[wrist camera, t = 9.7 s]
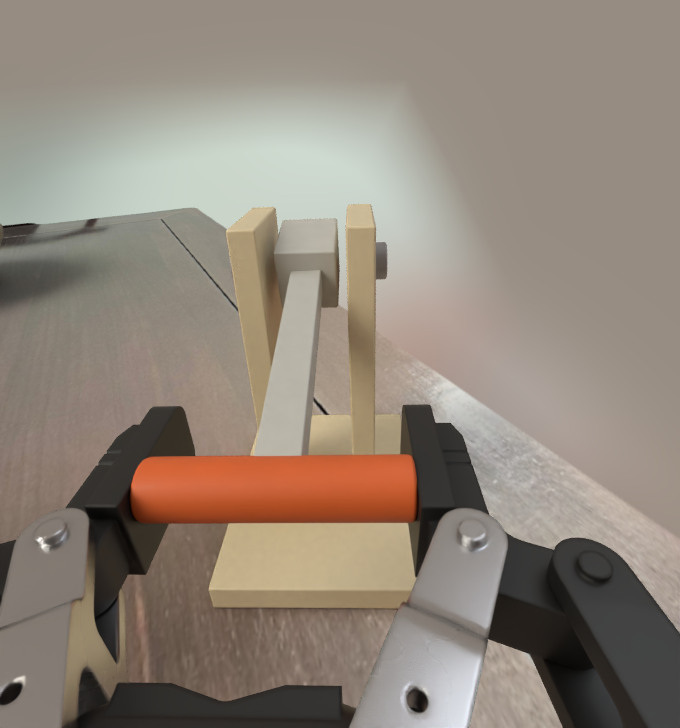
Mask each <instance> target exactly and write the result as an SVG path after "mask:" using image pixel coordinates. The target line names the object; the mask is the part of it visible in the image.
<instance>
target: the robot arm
mask: <svg viewBox="0 0 680 728" xmlns="http://www.w3.org/2000/svg"><path fill="white" fill-rule="evenodd" d="M400 454H408V455H411V456H412V458H413V460H414V463H415V468H416V476H417V490H418V509H417V516H416V520H415V521H414V522H412V523H408V527H409V534H410V542H411V549H412V557H413V564H414V572H415V577H417V578H416V581H415V583H414V586H413V588H412V591H411V593H410V596H409V598H408V600H407V601H406V602H405V601H403V602H402V603H401V605H400V606H399V608H398V610H397V612H396V615H395V617H394V619H393V622H392V624H391V627H390V629H389V631H388V634H387V636H386V639H385V641H384V644H383V646H382V648H381V651H380V653H379V656H378V658H377V661H376V663H375V665H374V668H373V670H372V673H371V675H370V678H369V680H368V683H367V685H366V687H365V690H364V692H363V695H362V697H361V700H360V702H359V704H358V707H357V709H356V708H353V707H350V706H348V705H345V704H343V702H342V686H304V685H285V686H281V687H278V688H274V689H271V690H267V691H264V692H260V693H256V694H253V695H249V696H246V697H242V698H239V699H235V700H232V701H227V702H226V701H219V700H216V699H213V698H210V697H208V696H205V695H202V694H200V693H197V692H194V691H191V690H189V689H186V688H183V687H180V686H178V685H175V684H172V683H129V681H128V675H127V659H126V621H125V595H124V591H123V589H122V585H123V583H124V581H125V579H126V577H127V575H128V574H137V575H146V573H147V571H148V569H149V567H150V564H151V562H152V560H153V558H154V555H155V553H156V551H157V549H158V546H159V544H160V542H161V540H162V538H163V535H164V533H165V531H166V529H167V526H168V524H169V523H156V524H145V523H141V522H139V521H137V520H136V519H135V518H134V516H133V514H132V510H131V505H130V490H131V484H132V480H133V476H134V474H135V471H136V469H137V467H138V466H139V464H140V463H141V462H142V461H143V460H144V459H146V458H149V457H162V456H195V449H194V444H193V441H192V437H191V433H190V429H189V426H188V422H187V418H186V414H185V411H184V409H183V408H182V407H180V406H168V407H152V408H151V409H150V410H149V412H148V413H147V415H146V416H145V418H144V419H143V420H142V422H141V423H140V425H132V426H131V427H130V428H128V429H127V430H126V431H124V432H123V433H122V434H121V435H119V436H118V437H117V438H116V439H115V441H114V442H113V443H112V445H111V446H110V448H109V449H108V450H107V454H104V456H103V457H102V459H101V460H100V461H99V465H98V466H96V467H95V468H94V470H93V471H92V472H91V474H90V475H89V476H88V478H87V479H86V481H85V482H84V483H83V485H82V486H81V487H80V489H79V490H78V492H77V493H76V494H75V496H74V497H73V498H72V500H71V501H70V503H69V504H68V505H67V507H66V508H65V509H60V510H56V511H53V512H50V513H48V514H46V515H44V516H42V517H40V518H38V519H37V520H35V521H34V522H33V523H31V524H30V525H29V526H28V527H27V528H26V529H25V530H24V531H23V532H22V533H21V534H20V535H19V537H18V539H17V540H13V541H9V542H6V543H2V544H0V728H469V726H470V721H471V717H472V712H473V708H474V703H475V699H476V694H477V689H478V685H479V680H480V676H481V671H482V667H483V662H484V657H485V653H486V648H487V643H488V639H489V640H492V641H495V642H498V643H501V644H503V645H506V646H509V647H512V648H515V649H517V650H520V651H523V652H526V653H529V654H530V655H531V657H532V659H533V661H534V664H535V666H536V668H537V670H538V673H539V675H540V677H541V679H542V682H543V684H544V686H545V688H546V691H547V693H548V695H549V697H550V699H551V702H552V704H553V706H554V708H555V711H556V713H557V715H558V717H559V720H560V722H561V724H562V726H563V728H680V633H679V632H678V631H677V629H676V628H675V627H674V625H673V624H672V623H671V621H670V620H669V619H668V617H667V616H666V615H665V613H664V612H663V611H662V609H661V608H660V607H659V605H658V604H657V603H656V601H655V600H654V599H653V597H652V596H651V595H650V593H649V592H648V591H647V589H646V588H645V587H644V585H643V584H642V583H641V581H640V580H639V579H638V577H637V576H636V575H635V573H634V572H633V571H632V569H631V568H630V567H629V565H628V564H627V563H626V562H625V561H624V560H623V559H622V558H621V557H620V556H619V555H618V554H617V553H615V552H614V551H613V550H611V549H610V548H608V547H606V546H605V545H603V544H601V543H598V542H596V541H593V540H589V539H585V538H569V539H565V540H563V541H561V542H560V543H558V545H557V546H556V547H555V549H554V550H552V549H549V548H545V547H541V546H538V545H534V544H531V543H527V542H524V541H521V540H519V539H516V538H514V537H512V536H511V535H509V534H507V533H506V532H505V531H504V529H503V528H502V526H501V525H500V524H499V523H498V522H497V521H496V520H495V519H494V518H493V517H491V516H490V515H489V513H488V510H487V507H486V504H485V501H484V498H483V495H482V492H481V489H480V486H479V483H478V480H477V478H476V475H475V472H474V469H473V466H472V465H471V460H470V457H469V454H468V453H467V448H466V445H465V442H464V439H463V436H462V435H461V434H460V433H459V431H458V430H457V429H456V428H455V427H454V426H453V425H452V424H451V423H435V420H434V416H433V412H432V409H431V406H430V405H403V408H402V423H401V442H400Z"/></svg>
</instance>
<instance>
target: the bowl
mask: <svg viewBox="0 0 680 728" xmlns="http://www.w3.org/2000/svg"><path fill="white" fill-rule="evenodd" d="M2 238H3V227H2V225H1V224H0V244H1V242H2Z"/></svg>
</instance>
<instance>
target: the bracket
mask: <svg viewBox="0 0 680 728" xmlns="http://www.w3.org/2000/svg"><path fill="white" fill-rule="evenodd" d="M226 237H227V243H228V249H229V255H230V271H231V275H232V278H233V280H234V286H235V292H236V298H237V304H238V310H239V317H240V323H241V329H242V335H243V341H244V347H245V353H246V360H247V366H248V372H249V378H250V384H251V390H252V396H253V402H254V409H255V415H256V421H257V427H258V432H259V427H260V422H261V417H262V412H263V407H264V402H265V397H266V392H267V387H268V382H269V377H270V372H271V367H272V362H273V358H274V353H275V348H276V343H277V338H278V333H279V328H280V323H281V318H282V313H283V308H282V305H281V299H280V292H279V286H278V280H277V274H276V267H275V261H274V255H273V254H274V250H275V246H276V243H277V239H278V227H277V217H276V209H275V208H274V207H263V208H252V209H251V210H250V211H249V212H248V213H247V214H245V215H244V216H243V217H242V218H241V219H239V220H238V221H237V222H236V223H235V224H234V225H232V226H231V227H230V228H229V229H228V230H226ZM346 257H347V258H346V259H347V291H348V292H347V294H348V329H349V363H350V397H351V415H312V418H311V429H310V441H309V452H308V455H383V454H400V442H401V423H402V422H401V416H400V414H375V328H376V326H375V325H376V324H375V322H376V316H375V315H376V312H375V311H376V279H386V277H387V245H386V243H385V242H381V243H380V242H379V243H376V226H375V221H374V216H373V212H372V207H371V205H370V204H353V205H348V206H347V217H346ZM258 432H257V435H256V438H255V441H254V444H253V448H252V451H251V454H250V456H254V452H255V447H256V442H257V437H258ZM416 578H417V577H415V572H414V564H413V557H412V549H411V542H410V534H409V527H408V523H229V525H228V528H227V531H226V534H225V537H224V541H223V544H222V547H221V550H220V553H219V557H218V560H217V563H216V566H215V570H214V573H213V576H212V579H211V582H210V586H209V593H210V596H211V600H212V603H213V606H214V607H238V608H399V606H400V605H401V603H402V602H403V601H405V602H406V601H407V600H408V598H409V596H410V593H411V591H412V588H413V586H414V583H415V581H416Z"/></svg>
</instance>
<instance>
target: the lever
mask: <svg viewBox="0 0 680 728" xmlns="http://www.w3.org/2000/svg"><path fill="white" fill-rule="evenodd" d="M273 255H274V261H275V267H276V274H277V280H278V286H279V292H280V299H281V305H282V308H283V313H282V318H281V323H280V328H279V333H278V338H277V343H276V348H275V353H274V358H273V362H272V367H271V372H270V377H269V382H268V387H267V392H266V397H265V402H264V407H263V412H262V417H261V422H260V427H259V432H258V437H257V442H256V447H255V452H254V456H162V457H149V458H146V459H144V460H143V461H142V462H141V463H140V464H139V466H138V467H137V469H136V471H135V474H134V476H133V480H132V484H131V490H130V505H131V510H132V514H133V516H134V518H135V519H136V520H137V521H139V522H141V523H145V524H156V523H412V522H414V521H415V520H416V516H417V509H418V490H417V476H416V468H415V463H414V460H413V458H412V456H411V455H408V454H383V455H308V452H309V441H310V429H311V418H312V407H313V396H314V384H315V373H316V362H317V350H318V339H319V328H320V317H321V308H326V307H337V306H338V295H339V251H338V229H337V219H307V220H306V219H304V220H284V221H283V222H282V225H281V228H280V232H279V236H278V239H277V243H276V246H275V250H274V254H273Z"/></svg>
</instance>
